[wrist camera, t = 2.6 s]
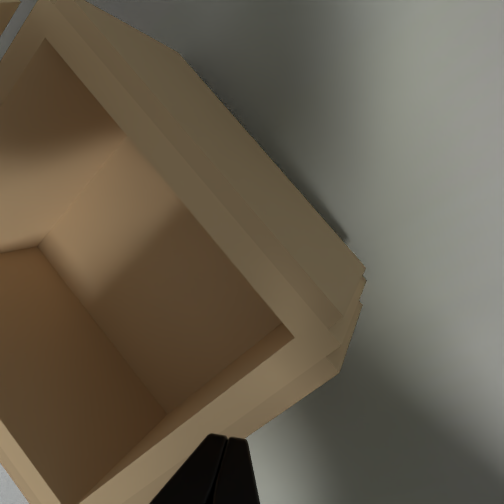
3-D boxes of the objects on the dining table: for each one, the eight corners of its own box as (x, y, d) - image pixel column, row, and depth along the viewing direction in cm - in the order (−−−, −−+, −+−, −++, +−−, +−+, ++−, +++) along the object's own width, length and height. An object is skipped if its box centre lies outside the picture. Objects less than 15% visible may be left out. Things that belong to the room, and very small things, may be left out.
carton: (385, 282, 16) (372, 349, 10) (173, 442, 21) (69, 559, 15) (182, 50, 18) (53, -25, 11) (24, 249, 22) (-133, 277, 16)
